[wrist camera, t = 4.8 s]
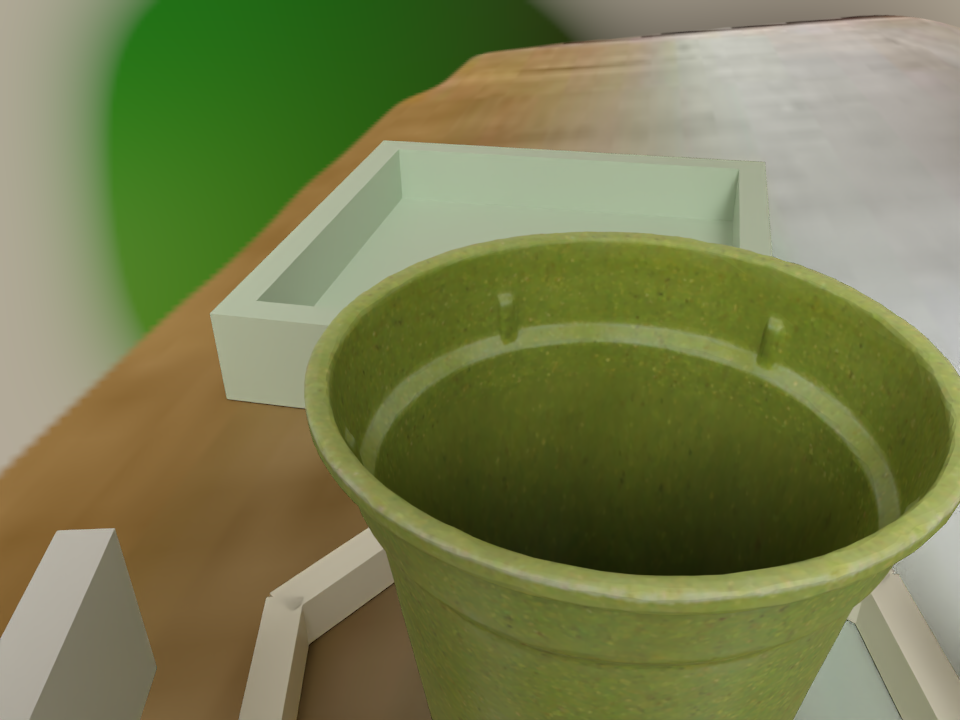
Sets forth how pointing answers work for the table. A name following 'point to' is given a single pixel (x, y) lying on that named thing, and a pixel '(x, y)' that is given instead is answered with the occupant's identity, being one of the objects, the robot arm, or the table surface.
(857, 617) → the collar ring
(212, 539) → the table surface
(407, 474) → the plant pot
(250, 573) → the table surface
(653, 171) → the tray
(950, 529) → the table surface
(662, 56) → the table surface
